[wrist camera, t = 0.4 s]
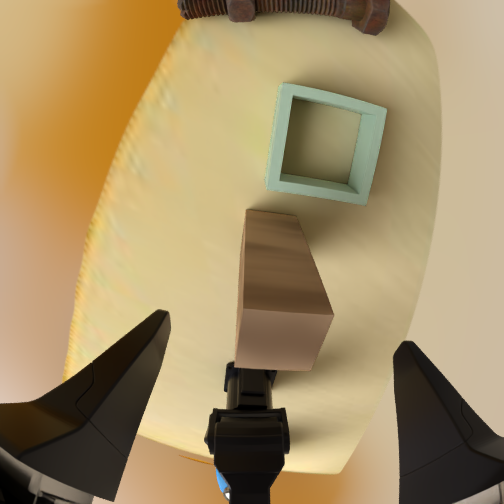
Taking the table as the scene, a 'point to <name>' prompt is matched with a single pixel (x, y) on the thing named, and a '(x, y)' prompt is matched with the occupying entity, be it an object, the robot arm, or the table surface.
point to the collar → (363, 153)
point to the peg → (278, 296)
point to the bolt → (294, 10)
